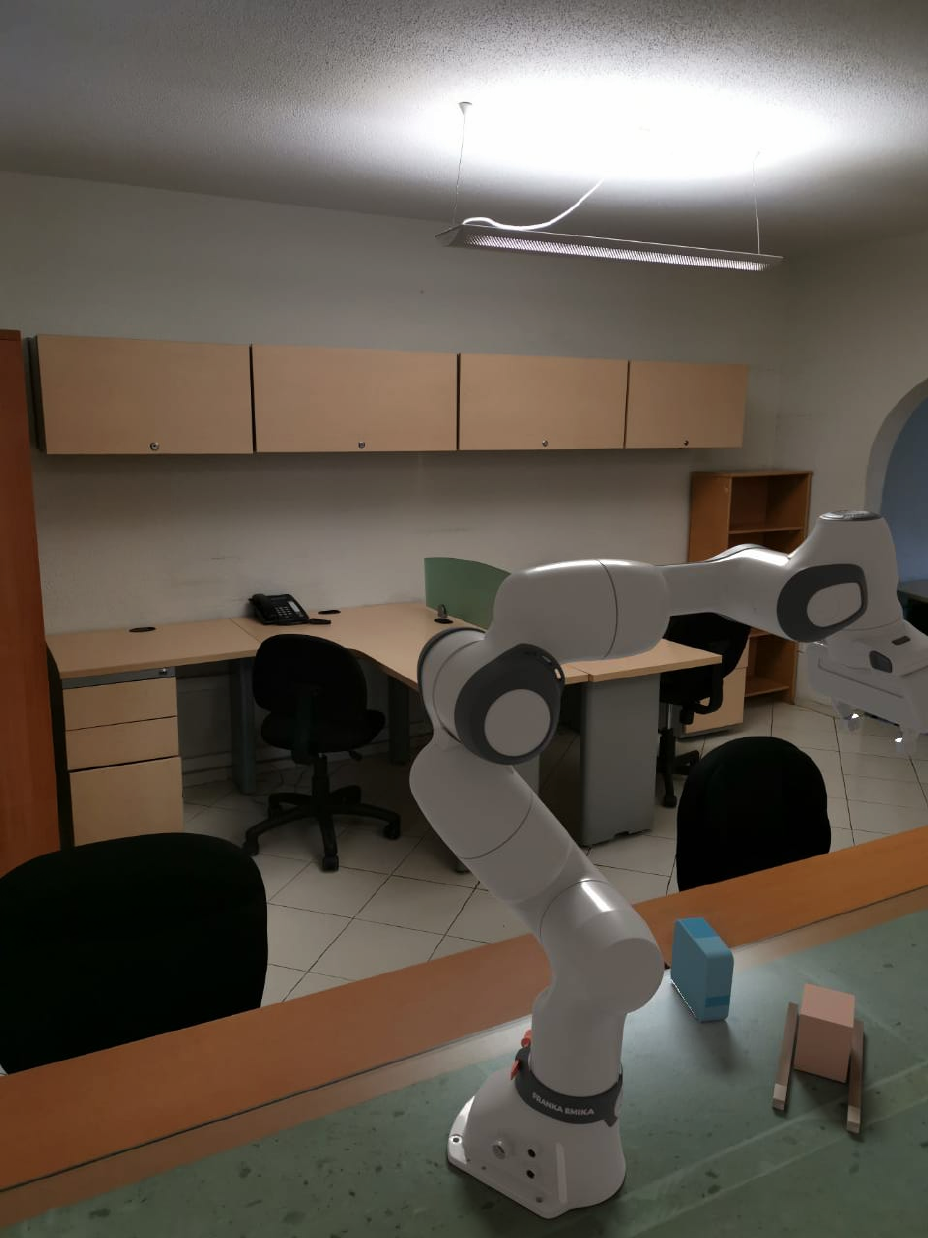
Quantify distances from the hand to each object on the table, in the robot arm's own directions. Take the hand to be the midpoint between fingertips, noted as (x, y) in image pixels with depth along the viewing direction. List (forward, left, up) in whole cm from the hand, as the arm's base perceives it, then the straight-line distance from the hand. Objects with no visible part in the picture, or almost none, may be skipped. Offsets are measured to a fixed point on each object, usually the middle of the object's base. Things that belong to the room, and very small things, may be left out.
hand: (877, 740), depth 117 cm
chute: (-1, +7, -53) cm, 53 cm away
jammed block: (-1, +8, -53) cm, 54 cm away
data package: (-20, +14, -53) cm, 59 cm away
